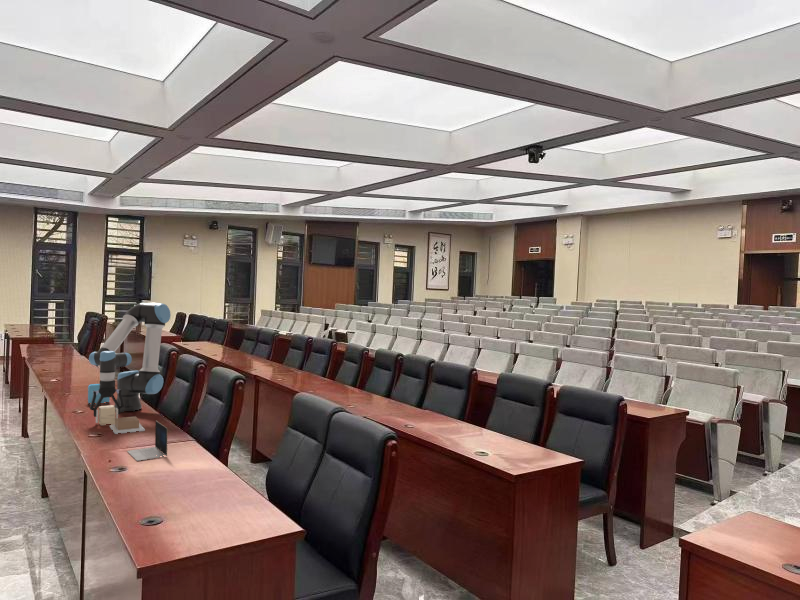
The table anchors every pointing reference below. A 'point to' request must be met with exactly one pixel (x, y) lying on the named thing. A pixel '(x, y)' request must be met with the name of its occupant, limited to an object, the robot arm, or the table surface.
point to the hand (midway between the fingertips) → (106, 421)
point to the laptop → (153, 451)
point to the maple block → (106, 415)
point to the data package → (90, 395)
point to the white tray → (126, 425)
